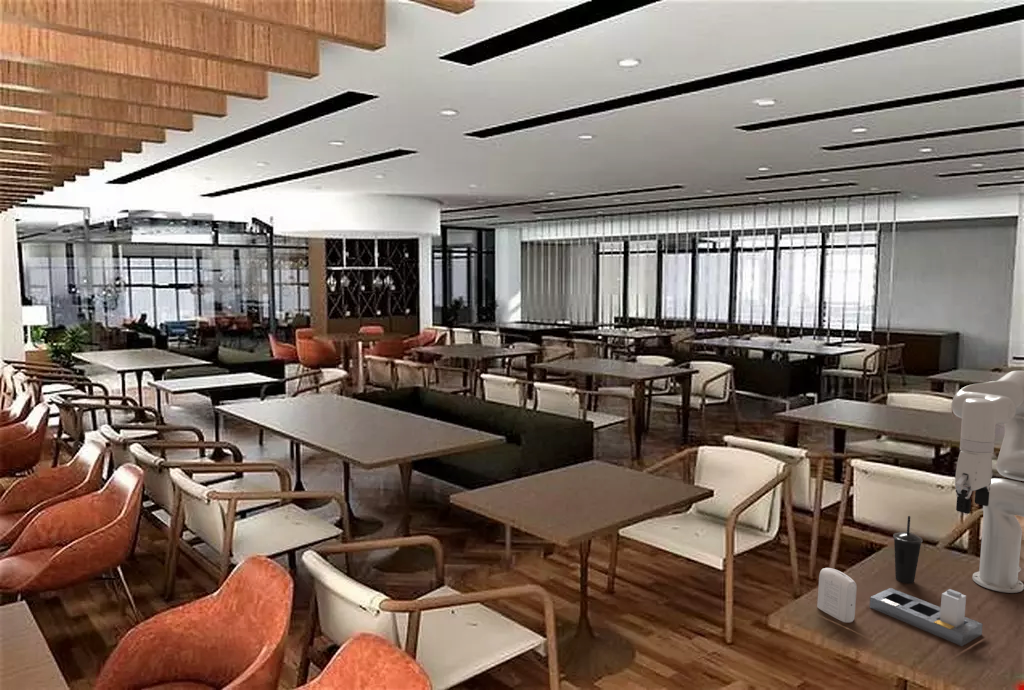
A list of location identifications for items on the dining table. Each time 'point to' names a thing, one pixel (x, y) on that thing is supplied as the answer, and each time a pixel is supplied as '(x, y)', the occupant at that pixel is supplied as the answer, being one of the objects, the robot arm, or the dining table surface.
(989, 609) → the dining table surface
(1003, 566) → the robot arm
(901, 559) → the drinking cup
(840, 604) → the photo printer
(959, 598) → the plug
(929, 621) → the socket panel
